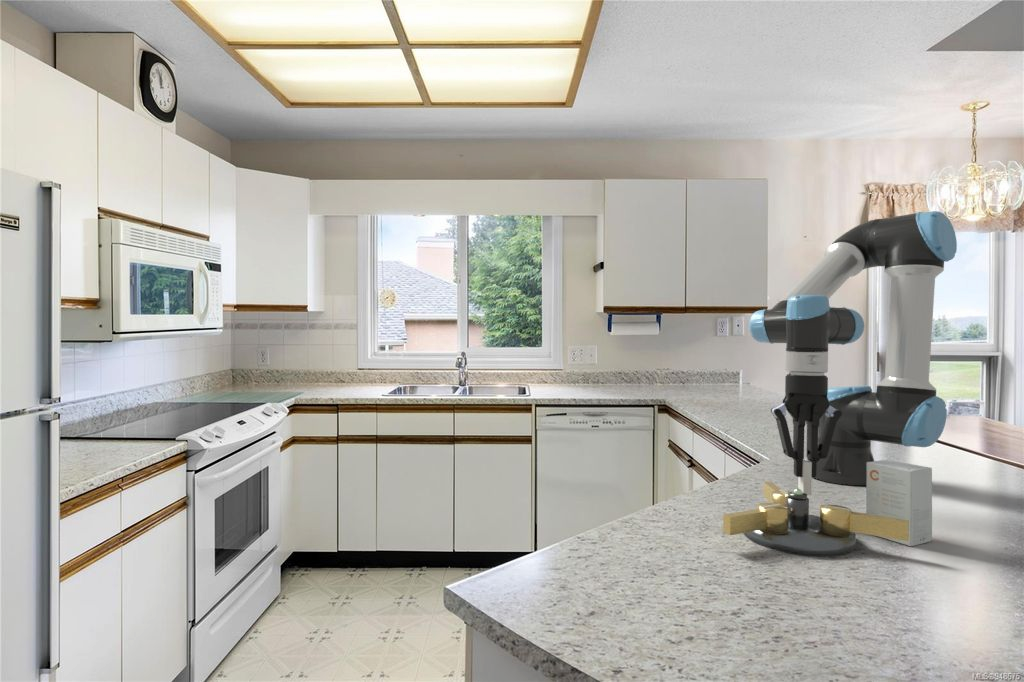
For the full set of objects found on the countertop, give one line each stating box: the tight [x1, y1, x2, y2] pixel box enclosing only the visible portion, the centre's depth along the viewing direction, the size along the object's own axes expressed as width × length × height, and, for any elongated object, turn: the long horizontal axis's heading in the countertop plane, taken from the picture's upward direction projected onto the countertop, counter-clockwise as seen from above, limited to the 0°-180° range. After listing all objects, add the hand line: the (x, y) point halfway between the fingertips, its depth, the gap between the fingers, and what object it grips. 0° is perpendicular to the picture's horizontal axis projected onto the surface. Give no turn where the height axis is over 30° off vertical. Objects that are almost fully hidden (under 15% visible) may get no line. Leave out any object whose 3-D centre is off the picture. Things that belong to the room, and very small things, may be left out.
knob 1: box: [722, 502, 788, 536], centre depth 103 cm, size 13×5×4 cm, turn 114°
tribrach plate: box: [743, 488, 857, 557], centre depth 107 cm, size 18×18×9 cm
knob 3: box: [819, 504, 909, 541], centre depth 101 cm, size 13×5×4 cm, turn 54°
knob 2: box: [762, 481, 791, 507], centre depth 117 cm, size 13×5×4 cm, turn 174°
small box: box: [865, 459, 933, 547], centre depth 108 cm, size 8×6×13 cm
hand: (804, 493), depth 119 cm, fingers closed
